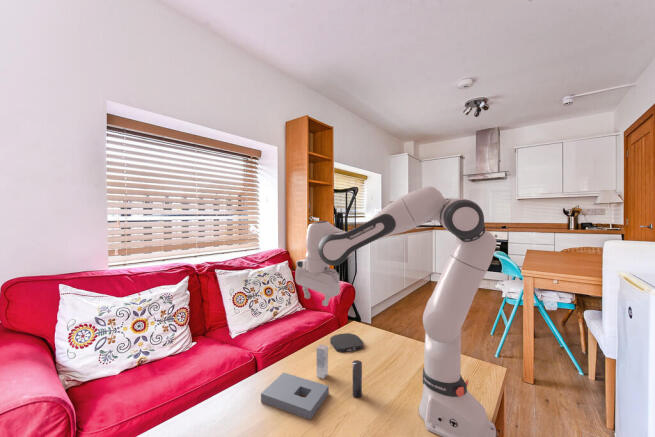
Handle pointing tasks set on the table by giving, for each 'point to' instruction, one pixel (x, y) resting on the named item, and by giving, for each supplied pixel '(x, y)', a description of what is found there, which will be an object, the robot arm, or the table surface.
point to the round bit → (357, 379)
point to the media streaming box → (346, 342)
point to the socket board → (295, 395)
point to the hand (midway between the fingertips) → (315, 301)
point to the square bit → (322, 361)
